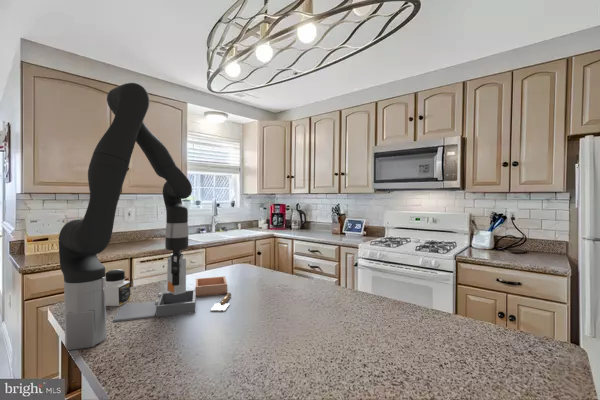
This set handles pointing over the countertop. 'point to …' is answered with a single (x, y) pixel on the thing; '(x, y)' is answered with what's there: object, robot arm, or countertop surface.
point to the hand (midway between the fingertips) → (176, 282)
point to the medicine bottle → (117, 288)
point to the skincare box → (182, 278)
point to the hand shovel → (221, 305)
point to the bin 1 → (158, 307)
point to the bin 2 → (211, 286)
